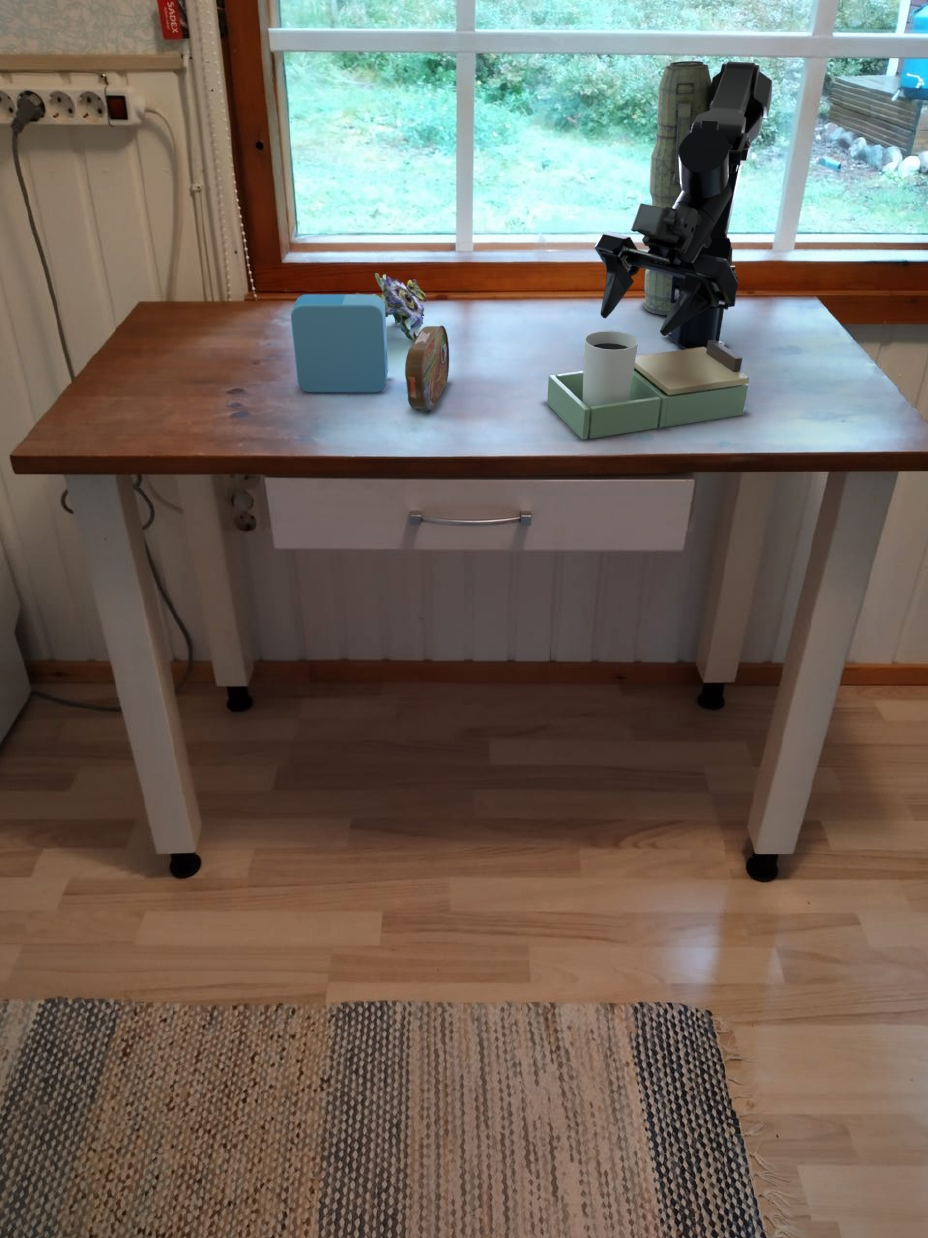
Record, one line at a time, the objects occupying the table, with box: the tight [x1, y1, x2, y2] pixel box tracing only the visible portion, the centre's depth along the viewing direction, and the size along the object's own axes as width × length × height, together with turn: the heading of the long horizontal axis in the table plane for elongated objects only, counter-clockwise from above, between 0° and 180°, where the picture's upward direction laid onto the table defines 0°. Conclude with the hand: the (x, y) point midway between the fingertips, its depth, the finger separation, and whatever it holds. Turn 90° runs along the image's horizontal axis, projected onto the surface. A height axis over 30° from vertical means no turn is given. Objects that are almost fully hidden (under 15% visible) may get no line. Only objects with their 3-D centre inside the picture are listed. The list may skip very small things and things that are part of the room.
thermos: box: [643, 60, 712, 316], centre depth 152 cm, size 9×12×35 cm
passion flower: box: [354, 272, 428, 342], centre depth 149 cm, size 11×11×12 cm
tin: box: [404, 325, 450, 411], centre depth 131 cm, size 15×3×8 cm, turn 168°
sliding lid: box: [634, 340, 750, 395], centre depth 128 cm, size 11×11×3 cm
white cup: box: [582, 330, 639, 417], centre depth 125 cm, size 7×7×10 cm
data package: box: [290, 293, 389, 393], centre depth 132 cm, size 12×4×12 cm, turn 90°
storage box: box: [546, 368, 749, 441], centre depth 129 cm, size 23×11×4 cm, turn 109°
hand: (631, 325), depth 124 cm, fingers open, 9 cm apart
